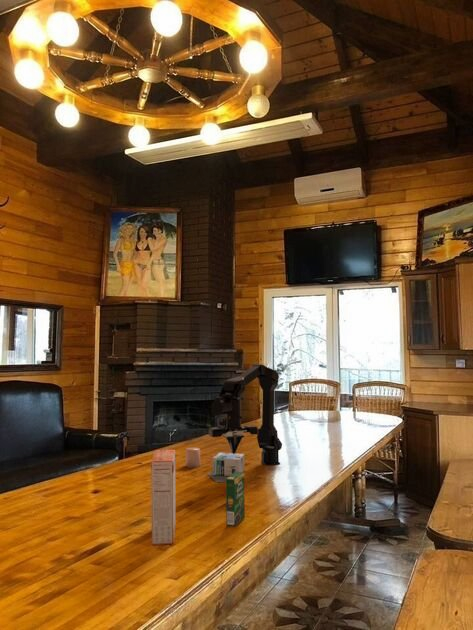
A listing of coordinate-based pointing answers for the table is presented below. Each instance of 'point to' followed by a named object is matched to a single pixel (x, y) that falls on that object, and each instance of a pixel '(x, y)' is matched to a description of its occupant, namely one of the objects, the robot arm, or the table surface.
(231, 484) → the coffee box
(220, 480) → the mat
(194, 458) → the pink rounded capsule
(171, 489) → the cracker box
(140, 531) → the table surface
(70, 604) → the table surface
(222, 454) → the light bulb box
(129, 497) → the table surface
